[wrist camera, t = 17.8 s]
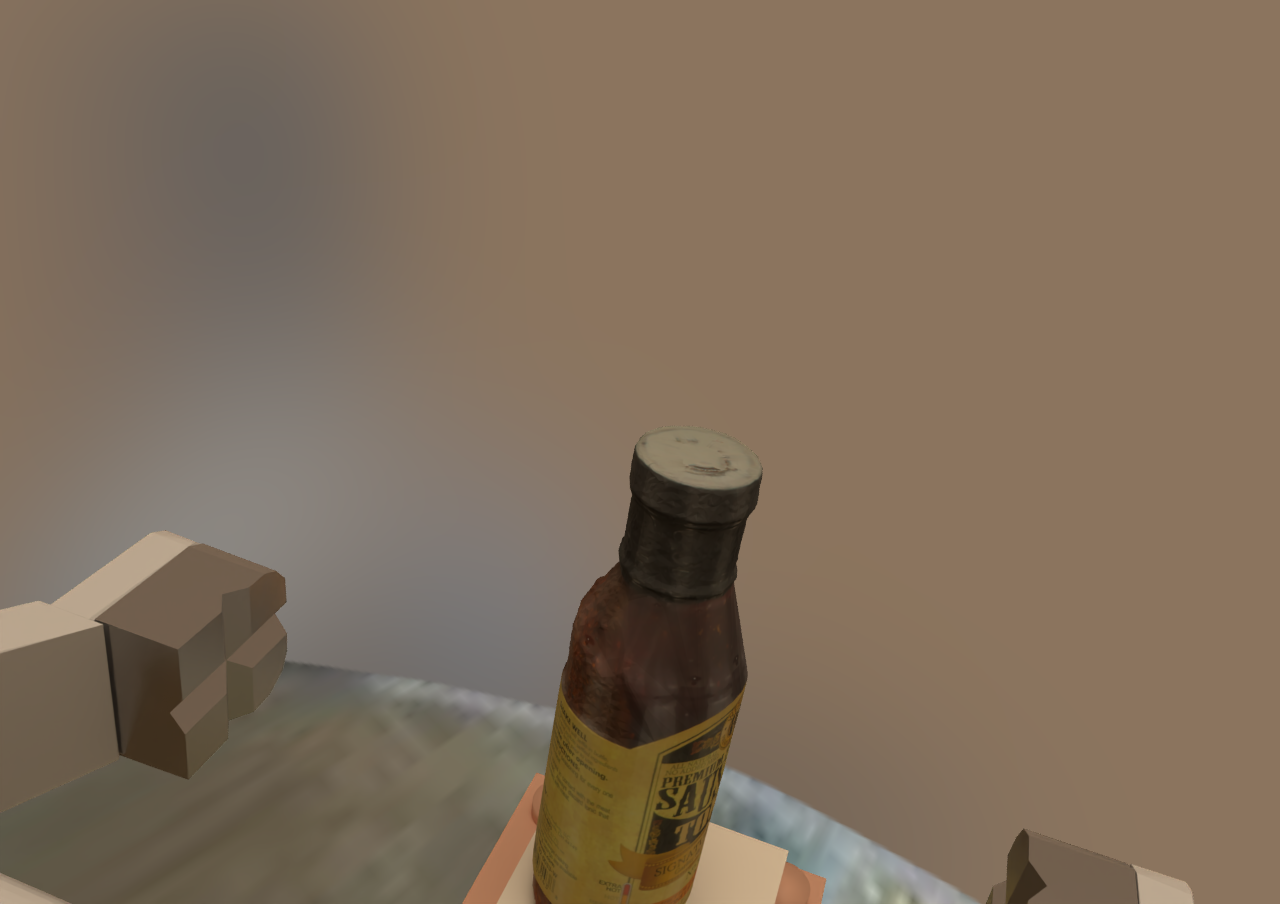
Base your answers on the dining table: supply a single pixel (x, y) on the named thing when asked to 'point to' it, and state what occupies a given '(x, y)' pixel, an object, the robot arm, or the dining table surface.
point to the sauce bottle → (651, 683)
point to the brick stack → (724, 882)
